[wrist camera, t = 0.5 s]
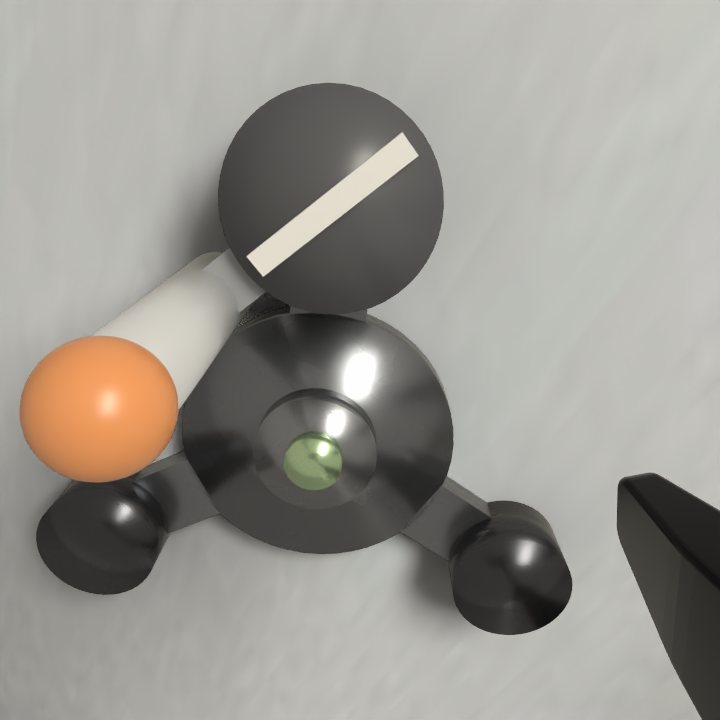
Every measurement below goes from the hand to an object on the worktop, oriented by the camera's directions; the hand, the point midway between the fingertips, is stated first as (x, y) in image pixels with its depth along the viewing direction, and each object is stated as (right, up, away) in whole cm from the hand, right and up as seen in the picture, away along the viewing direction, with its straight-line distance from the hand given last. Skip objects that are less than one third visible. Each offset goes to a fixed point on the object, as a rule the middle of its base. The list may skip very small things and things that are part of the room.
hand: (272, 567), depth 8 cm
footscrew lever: (-1, +7, +12) cm, 14 cm away
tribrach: (0, +2, +15) cm, 15 cm away
